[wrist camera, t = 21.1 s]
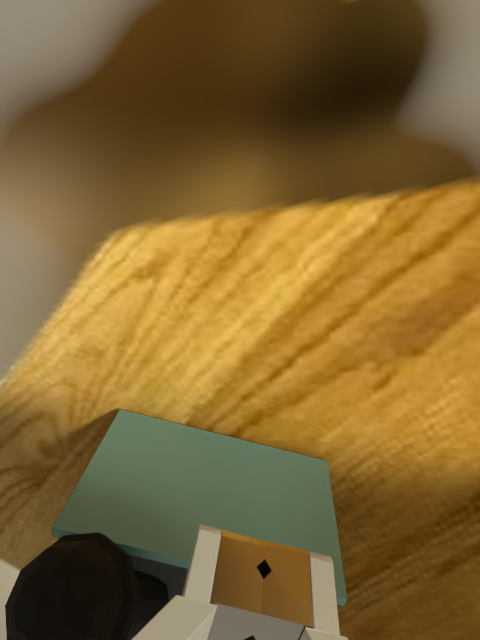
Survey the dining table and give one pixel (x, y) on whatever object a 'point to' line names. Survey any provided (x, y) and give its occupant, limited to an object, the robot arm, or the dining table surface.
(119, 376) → the dining table surface
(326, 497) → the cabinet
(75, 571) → the microphone
